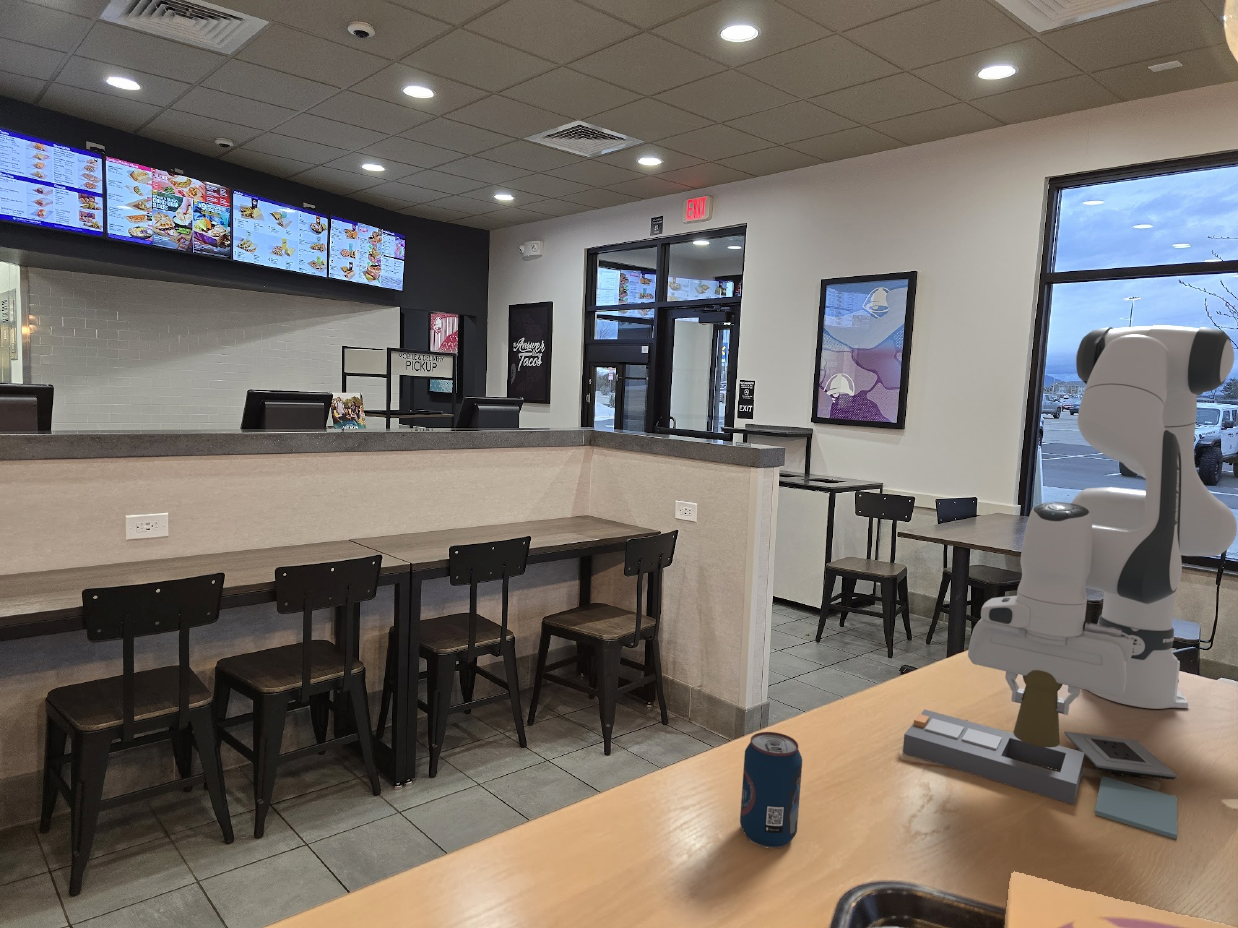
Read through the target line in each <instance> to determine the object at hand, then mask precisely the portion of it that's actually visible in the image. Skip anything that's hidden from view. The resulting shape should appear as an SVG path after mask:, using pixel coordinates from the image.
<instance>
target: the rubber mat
mask: <svg viewBox="0 0 1238 928" xmlns="http://www.w3.org/2000/svg"><path fill="white" fill-rule="evenodd" d="M1177 802H1178V798H1177V796H1175V795H1171V794H1169V793H1164V792H1160V791H1159V790H1158V791H1157V790H1155V789H1150V788H1146V787H1143V786H1139V785H1135V784H1132V783H1129V782H1125V781H1123V780H1118V779H1114V778H1110V777H1107V776H1103V775H1101V778H1100V784H1099V790H1098V794H1097V800H1096V806H1095V811H1094V815H1095V816H1099V817H1102V818H1105V819H1109V820H1111V821H1115V822H1117V823H1122V824H1125V825H1128V826H1131V827H1135V828H1138V829H1140V830H1144V831H1148V832H1150V833H1153V834H1154V833H1155V834H1157V835H1161V836H1164V837H1167V838H1171V839H1174V840H1177V839H1178V803H1177Z"/></svg>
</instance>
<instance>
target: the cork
mask: <svg viewBox="0 0 1238 928" xmlns="http://www.w3.org/2000/svg"><path fill="white" fill-rule="evenodd" d="M1022 679H1023V682H1024V684H1025V687H1024V695H1023V701H1022V704H1021V703H1020V705H1019V710H1018V713H1017V718H1016V722H1015V725H1014V728H1013V732H1012V733H1014V735H1015V737H1016V738H1018V739H1019V740H1021V741H1023V742H1025V743H1028V744H1031V745H1034V746H1039V747H1048V748H1050V747H1056V746H1058V745H1059V746H1060V744H1061V743H1060V740H1061V739H1060V721H1059V720H1060V718H1059V716H1060V715H1059V713H1057V712H1056V709H1057V701H1058V698H1059V694H1058V692H1059V691H1060V690H1061V689H1062V686H1063V685H1064V684H1059V683H1057V682H1056V680H1055V678H1054V677H1053V676H1052V675H1051V674H1049V673H1047V672H1044V671H1040V670H1032V671H1031V672H1029V673H1028V674H1027V675H1026V676H1024V675H1022Z"/></svg>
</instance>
